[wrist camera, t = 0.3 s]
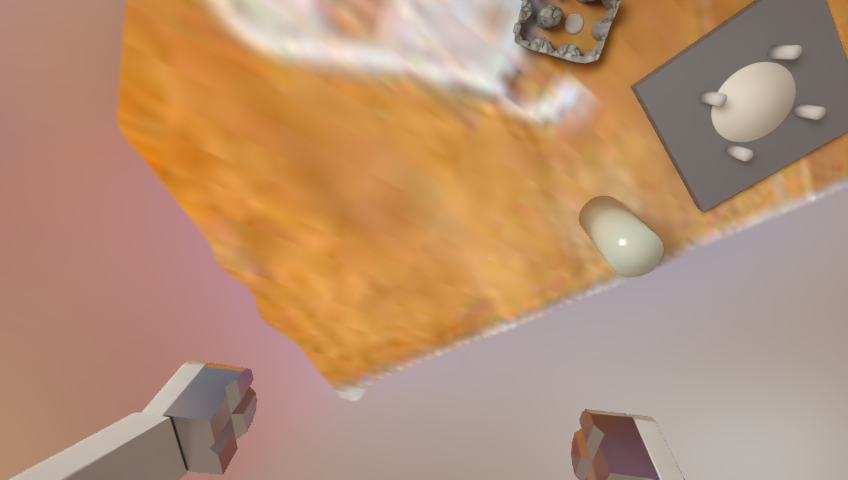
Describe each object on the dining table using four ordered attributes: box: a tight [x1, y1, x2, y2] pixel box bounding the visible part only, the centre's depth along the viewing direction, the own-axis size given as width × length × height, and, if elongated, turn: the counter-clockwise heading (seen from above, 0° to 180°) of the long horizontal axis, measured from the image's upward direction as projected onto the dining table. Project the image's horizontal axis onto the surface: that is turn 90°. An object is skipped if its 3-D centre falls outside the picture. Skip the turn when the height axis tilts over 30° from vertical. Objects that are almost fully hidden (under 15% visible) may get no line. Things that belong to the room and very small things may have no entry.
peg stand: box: [631, 0, 848, 212], centre depth 49 cm, size 20×20×4 cm
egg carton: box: [513, 0, 621, 63], centre depth 47 cm, size 11×8×4 cm
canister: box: [579, 196, 664, 277], centre depth 52 cm, size 6×6×12 cm
